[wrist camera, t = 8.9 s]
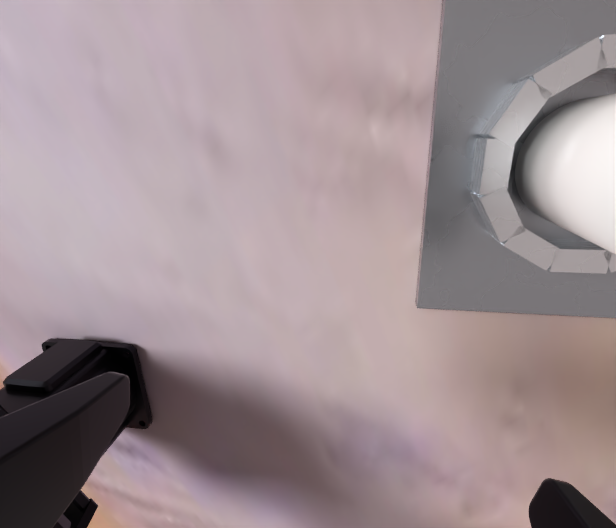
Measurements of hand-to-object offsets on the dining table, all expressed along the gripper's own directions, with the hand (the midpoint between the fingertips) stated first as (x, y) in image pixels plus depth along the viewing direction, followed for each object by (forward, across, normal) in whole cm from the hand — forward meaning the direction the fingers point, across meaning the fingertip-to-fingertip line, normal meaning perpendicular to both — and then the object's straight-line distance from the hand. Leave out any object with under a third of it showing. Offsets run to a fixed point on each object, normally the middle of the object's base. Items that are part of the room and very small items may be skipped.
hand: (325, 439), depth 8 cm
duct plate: (+11, -8, -7) cm, 16 cm away
